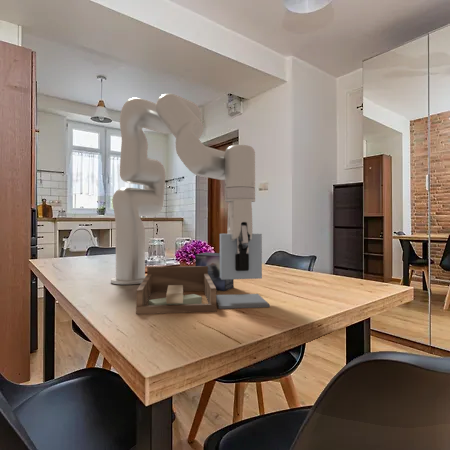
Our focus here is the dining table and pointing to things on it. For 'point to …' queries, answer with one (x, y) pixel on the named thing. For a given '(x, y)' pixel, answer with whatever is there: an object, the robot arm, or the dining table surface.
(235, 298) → the pad
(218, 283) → the small box
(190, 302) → the offcut lower
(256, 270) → the block
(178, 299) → the offcut upper
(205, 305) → the brown wooden tray
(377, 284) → the dining table surface
